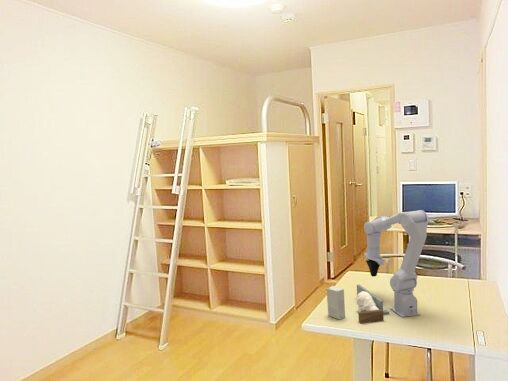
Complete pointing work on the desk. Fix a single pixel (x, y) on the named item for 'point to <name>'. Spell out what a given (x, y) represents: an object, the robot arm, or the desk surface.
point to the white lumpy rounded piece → (365, 302)
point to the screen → (377, 301)
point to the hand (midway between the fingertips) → (373, 275)
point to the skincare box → (335, 302)
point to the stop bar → (371, 316)
